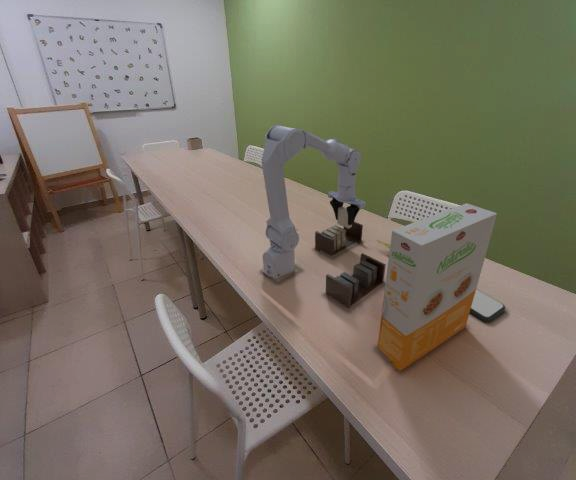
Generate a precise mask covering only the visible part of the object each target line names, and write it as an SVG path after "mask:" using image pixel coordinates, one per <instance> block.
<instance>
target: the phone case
mask: <svg viewBox="0 0 576 480" xmlns="http://www.w3.org/2000/svg"><path fill="white" fill-rule="evenodd" d="M505 311H506V306H505V305H504V303H502V302H500V301H498V300H497V299H494V298H493V297H491V296H489V295H488V294H486V293H484V292H482V291H481V290H479V289H477V288H476V291H475V295H474V298H473V302H472V306H471V309H470V313H469V314H472V315H473V316H475V317H476V318H478V319H479V320H481V321H483V322H486V323H488V322H491V321H492V320H494V319H495V318H497V317H498V316H500V315H501V314H502V313H504V312H505Z"/></svg>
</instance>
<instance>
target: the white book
mask: <svg viewBox="0 0 576 480" xmlns="http://www.w3.org/2000/svg"><path fill="white" fill-rule="evenodd" d="M336 221H337V223H336V224H337V225H339V226H342V227H346V228H350V227H352V225H348V213H347V209H346V207H345V206H343V207H342V206H341V207H339V208H338V220H336Z"/></svg>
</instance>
